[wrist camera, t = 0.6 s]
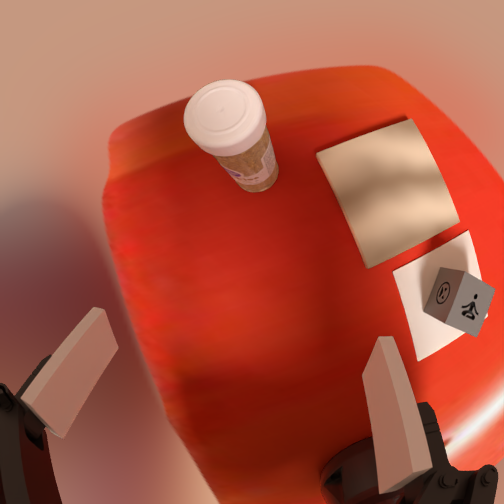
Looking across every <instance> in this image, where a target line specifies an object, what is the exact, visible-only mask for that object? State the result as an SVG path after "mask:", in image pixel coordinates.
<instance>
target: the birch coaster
mask: <svg viewBox="0 0 504 504" xmlns="http://www.w3.org/2000/svg"><path fill="white" fill-rule="evenodd" d="M316 158H317V160H318V162H319V164H320V166H321V168H322V170H323V172H324V174H325V176H326V178H327V180H328V182H329V184H330V186H331V188H332V190H333V192H334V194H335V196H336V199H337V201H338V203H339V205H340V207H341V210H342V212H343V214H344V216H345V218H346V221H347V223H348V225H349V228H350V230H351V232H352V235H353V237H354V240H355V242H356V244H357V247H358V249H359V252H360V254H361V257H362V260H363V262H364V265H365V267H366V268H367V269H369V268H371V267H373V266H375V265H378V264H380V263H382V262H384V261H386V260H388V259H390V258H392V257H394V256H396V255H398V254H400V253H402V252H404V251H406V250H408V249H410V248H412V247H414V246H416V245H418V244H420V243H422V242H423V241H425V240H427V239H429V238H431V237H433V236H435V235H437V234H438V233H440V232H442V231H444V230H446V229H448V228H449V227H451V226H453V225H455V224H457V223H458V222H460V221H459V218H458V215H457V212H456V209H455V207H454V204H453V201H452V199H451V196H450V194H449V191H448V189H447V187H446V184H445V182H444V180H443V177H442V175H441V173H440V171H439V169H438V167H437V164H436V162H435V160H434V158H433V156H432V154H431V152H430V150H429V148H428V146H427V145H426V143H425V141H424V139H423V137H422V135H421V134H420V132H419V130H418V128H417V127H416V125H415V123H414V121H413V120H412V119H409V120H406V121H403V122H400V123H397V124H394V125H391V126H388V127H385V128H382V129H379V130H376V131H373V132H370V133H368V134H365V135H362V136H359V137H357V138H354V139H351V140H349V141H346V142H343V143H341V144H338V145H336V146H333V147H330V148H328V149H325V150H323V151H320V152H318V153H316Z"/></svg>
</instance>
